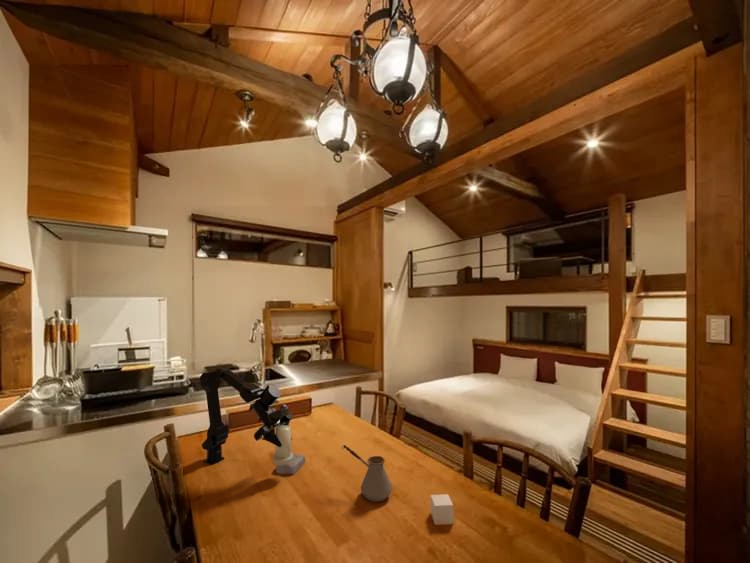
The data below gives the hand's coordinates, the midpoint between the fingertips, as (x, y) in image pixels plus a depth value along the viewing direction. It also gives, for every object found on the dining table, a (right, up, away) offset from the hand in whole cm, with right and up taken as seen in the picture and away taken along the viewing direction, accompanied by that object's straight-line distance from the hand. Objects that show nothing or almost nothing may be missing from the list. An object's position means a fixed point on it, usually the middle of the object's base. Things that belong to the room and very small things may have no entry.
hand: (285, 443), depth 138 cm
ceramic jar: (-1, -7, 0) cm, 7 cm away
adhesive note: (+58, -12, -26) cm, 65 cm away
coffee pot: (+33, -13, -11) cm, 37 cm away
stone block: (0, -15, +8) cm, 17 cm away
